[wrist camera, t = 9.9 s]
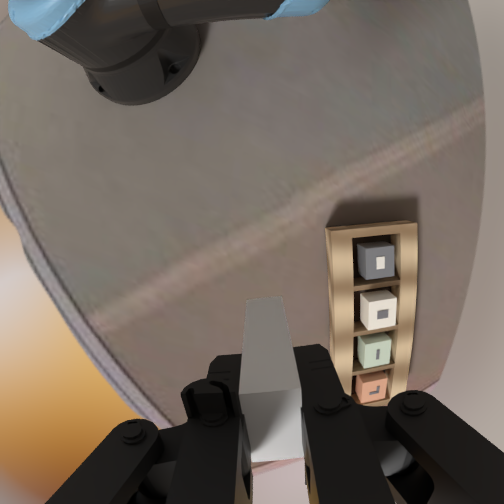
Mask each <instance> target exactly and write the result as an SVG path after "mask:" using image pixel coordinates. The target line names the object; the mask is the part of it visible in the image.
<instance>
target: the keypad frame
mask: <svg viewBox="0 0 504 504" xmlns="http://www.w3.org/2000/svg"><path fill="white" fill-rule="evenodd" d="M325 233H326V248H327V265H328V286H329V314H330V357H331V360H332V362H333V364H334V367H335V369H336V372H337V374H338V377H339V379H340V382H341V384H342V387H343V389H344V392H345V393H346V394H348V395H350V396H351V397H352V398H353V399H354V401H355V402H356V403H357V404H361V405H364V406H382V405H386V404H388V403H389V401H390V400H391V398H392V397H394V396H395V395H397V394H398V393H401V392H404V391H405V390H406V384H407V378H408V372H409V365H410V358H411V350H412V341H413V332H414V321H415V308H416V292H417V261H418V237H417V223H415V222H411V221H407V220H404V221H392V222H381V223H370V224H359V225H349V226H338V227H328V228H325ZM386 234H391V244H392V245H394V276H391V277H384V278H377V279H369V280H366V279H365V278H364V277H360V278H353V251H352V238H357V237H367V236H376V235H386ZM387 286H391V293H392V294H393V295H394V296H395V297H396V298H397V305H396V323H395V326H390V327H385V328H380V329H374V330H367V328H366V327H365V326H364V324H363V323H362V322H361V321H355V322H354V291H360V290H367V289H374V288H381V287H387ZM384 331H389V337H390V339H391V351H390V361H389V364H384V365H379V366H374V367H369V368H363V366H362V364H361V362H360V361H359V359H355V360H353V337H355V336H361V335H367V334H373V333H378V332H384ZM384 369H386V372H385V375H386V376H387V378H388V379H387V387H386V394H385V398H383V399H379V400H374V401H370V402H365V403H361V402H360V400H359V398H358V395H357V393H355V394H351V386H352V376H354V375H360V374H365V373H370V372H375V371H380V370H384Z"/></svg>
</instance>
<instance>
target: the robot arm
mask: <svg viewBox="0 0 504 504" xmlns="http://www.w3.org/2000/svg"><path fill="white" fill-rule="evenodd" d="M328 2H329V0H9V4H8V11H9V16H10V18H11V20H12V22H13V23H14V24H15V25H16V26H18V27H19V28H21V29H22V30H24V31H25V32H26V33H27V34H28V36H30V38H31V39H33V40H37V41H39V42H41V43H42V44H44V45H46V46H48V47H50V48H51V49H53V50H55V51H57V52H59V53H60V54H62V55H64V56H66V57H67V58H69V59H71V60H73V61H74V62H76V63H78V64H80V65H81V66H83V68H84V70H85V72H86V75H87V77H88V79H89V81H90V83H91V85H92V86H93V88H94V89H95V90H96V91H97V92H98V93H99V94H101V95H102V96H104V97H105V98H107V99H109V100H111V101H113V102H115V103H118V104H122V105H142V104H146V103H150V102H153V101H155V100H158V99H160V98H162V97H164V96H166V95H167V94H169V93H170V92H172V91H173V90H174V89H176V88H177V87H178V86H179V85H180V84H181V83H182V82H183V81H184V80H185V79H186V78H187V77H188V75H189V74H190V73H191V71H192V69H193V68H194V66H195V64H196V61H197V59H198V56H199V51H200V37H199V33H198V30H197V28H196V25H195V24H200V23H207V22H216V21H226V20H239V19H257V18H263V19H264V20H271V19H274V18H276V17H290V16H308V15H312V14H314V13H316V12H318V11H319V10H321V9H322V8H323V7H324V6H325V5H326V4H327V3H328ZM181 398H182V401H183V404H184V407H185V410H186V414H187V417H188V420H187V422H186V423H184V424H182V425H179V426H176V427H171V428H166V429H161V430H158V428H157V427H156V425H155V424H154V423H153V422H151V421H148V420H146V419H133V420H127V421H125V422H123V423H120V424H119V425H118V426H116V427H115V428H114V429H113V430H112V431H111V432H110V433H109V435H107V436H106V438H105V439H104V440H103V441H102V442H101V443H100V444H99V446H97V448H96V449H95V450H94V451H93V452H92V453H91V454H90V455H89V456H88V457H87V458H86V460H85V461H84V462H83V463H82V464H81V465H80V466H79V467H78V468H77V469H76V471H75V472H74V473H73V474H72V475H71V476H70V477H69V478H68V479H67V480H66V481H65V482H64V484H63V485H62V486H61V487H60V488H59V489H58V490H57V491H56V492H55V493H54V494H53V495H52V497H51V498H50V499H49V500H48V501H47V502H46V503H45V504H252V498H253V497H252V496H253V491H252V490H253V475H252V470H251V459H252V462H261V461H274V460H284V459H293V458H301V457H304V459H305V484H306V485H307V489H308V496H309V503H310V504H395V502H396V504H504V453H503V452H502V451H501V450H500V449H498V448H497V447H496V446H495V445H493V444H492V443H491V442H490V441H488V440H487V439H486V438H485V437H483V436H482V435H481V434H480V433H478V432H477V431H476V430H475V429H473V428H472V427H471V426H470V425H468V424H467V423H466V422H465V421H463V420H462V419H461V418H460V417H458V416H457V415H456V414H454V413H453V412H452V411H451V410H450V409H448V408H447V407H446V406H445V405H443V404H442V403H441V402H440V401H438V400H437V399H436V398H435V397H433V396H432V395H430V394H428V393H426V392H423V391H418V390H410V391H404V392H401V393H398V394H397V395H395V396H394V397H392V398H391V400H390V401H389V403H388V406H364V405H361V404H357V403H356V402H355V401H354V399H353V398H352V397H351V396H350V395H348V394H346V393H345V392H344V389H343V387H342V384H341V382H340V379H339V377H338V374H337V372H336V369H335V367H334V364H333V362H332V360H331V357H330V354H329V352H328V350H327V349H325V348H324V347H323V346H321V345H320V344H314V345H307V346H299V347H293V346H292V342H291V337H290V332H289V328H288V323H287V318H286V314H285V309H284V305H283V300H282V296H275V297H266V298H257V299H247V301H246V313H245V325H244V337H243V348H242V354H233V355H219V356H217V357H216V358H215V359H214V360H213V361H212V362H211V363H210V366H209V370H208V374H207V378H206V379H200V380H198V381H195V382H192V383H190V384H189V385H188V386H186V387H185V388H184V389H183V391H182V392H181Z"/></svg>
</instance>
